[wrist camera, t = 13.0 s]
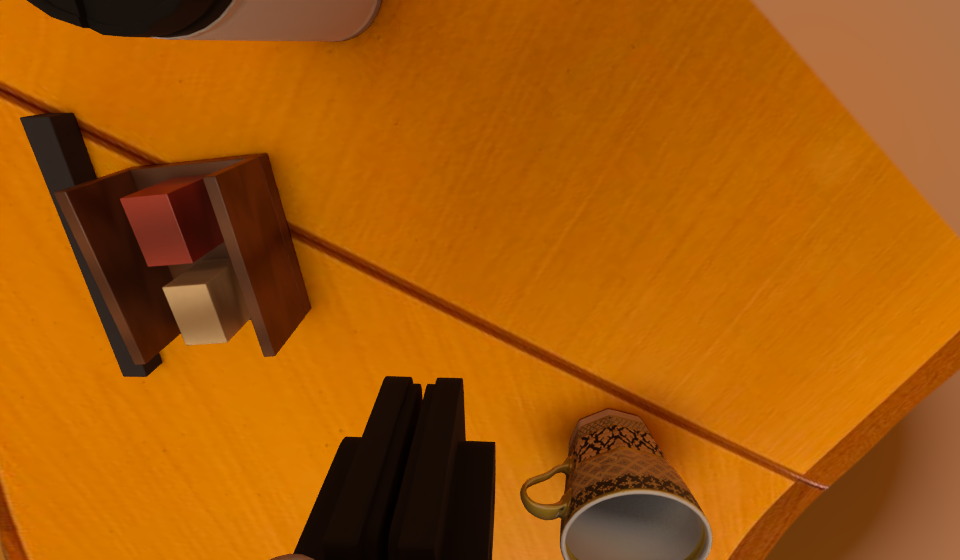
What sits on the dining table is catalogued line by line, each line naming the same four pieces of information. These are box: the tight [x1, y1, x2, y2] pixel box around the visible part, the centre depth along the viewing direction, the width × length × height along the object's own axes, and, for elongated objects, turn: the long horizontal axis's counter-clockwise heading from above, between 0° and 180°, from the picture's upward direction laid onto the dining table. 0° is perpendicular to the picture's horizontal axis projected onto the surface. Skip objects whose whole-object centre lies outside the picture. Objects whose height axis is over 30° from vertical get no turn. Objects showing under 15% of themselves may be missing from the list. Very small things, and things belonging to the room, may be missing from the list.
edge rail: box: [20, 113, 162, 377], centre depth 37 cm, size 20×2×2 cm, turn 2°
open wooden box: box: [54, 153, 311, 365], centre depth 34 cm, size 12×10×7 cm
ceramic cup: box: [520, 409, 712, 560], centre depth 38 cm, size 13×10×10 cm
